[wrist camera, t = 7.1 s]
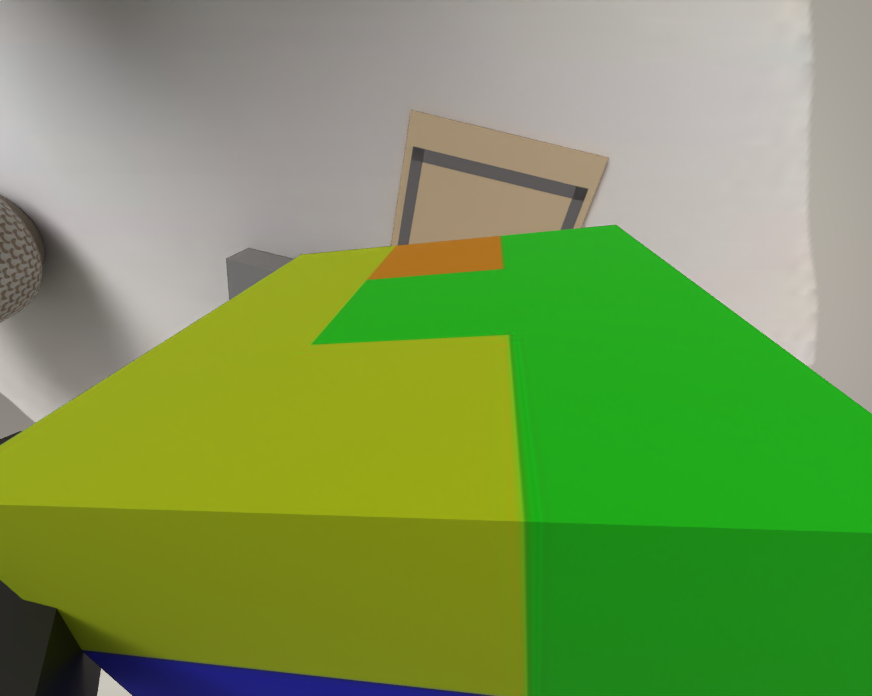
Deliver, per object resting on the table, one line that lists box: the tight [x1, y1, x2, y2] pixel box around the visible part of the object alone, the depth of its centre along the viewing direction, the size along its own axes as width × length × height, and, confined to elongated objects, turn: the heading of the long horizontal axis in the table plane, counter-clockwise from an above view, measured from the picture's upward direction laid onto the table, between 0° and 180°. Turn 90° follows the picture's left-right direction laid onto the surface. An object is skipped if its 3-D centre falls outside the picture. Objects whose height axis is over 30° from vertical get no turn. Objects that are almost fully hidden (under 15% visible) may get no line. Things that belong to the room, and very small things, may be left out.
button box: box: [226, 248, 294, 300], centre depth 32 cm, size 10×10×3 cm
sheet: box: [391, 110, 608, 246], centre depth 28 cm, size 16×13×1 cm
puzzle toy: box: [0, 225, 872, 696], centre depth 10 cm, size 10×10×10 cm
